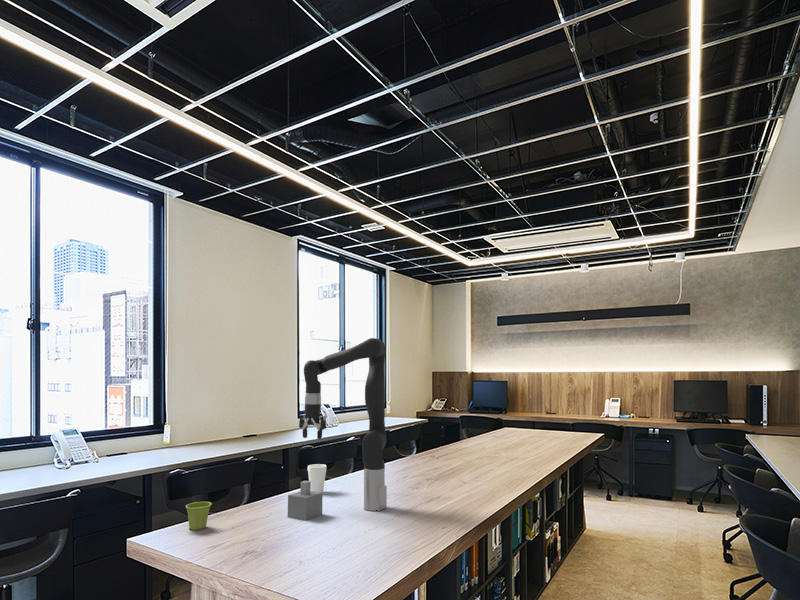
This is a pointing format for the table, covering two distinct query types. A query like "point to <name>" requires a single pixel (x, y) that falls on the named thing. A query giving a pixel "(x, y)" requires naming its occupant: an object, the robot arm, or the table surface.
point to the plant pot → (198, 514)
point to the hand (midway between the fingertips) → (312, 438)
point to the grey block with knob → (305, 503)
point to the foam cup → (317, 477)
